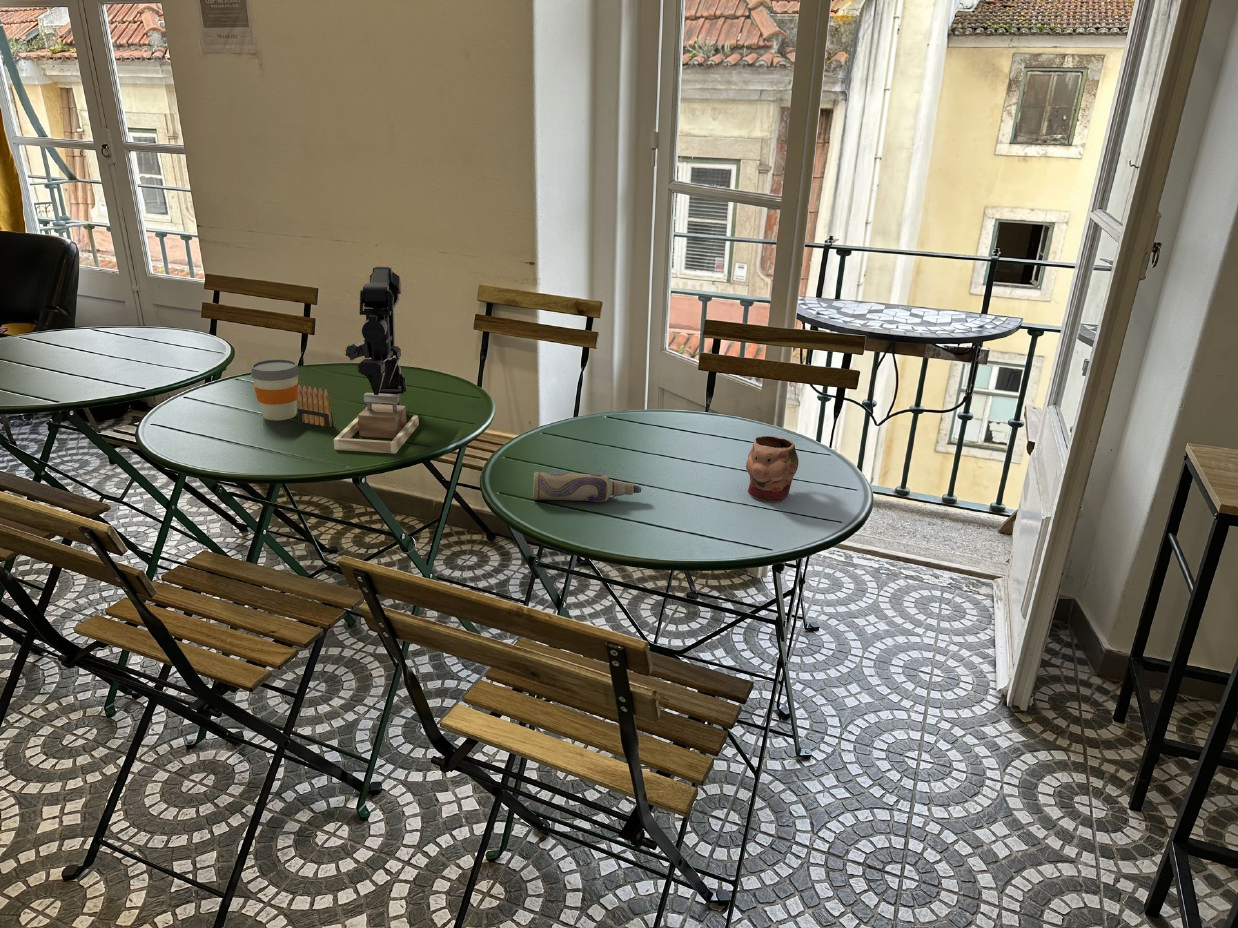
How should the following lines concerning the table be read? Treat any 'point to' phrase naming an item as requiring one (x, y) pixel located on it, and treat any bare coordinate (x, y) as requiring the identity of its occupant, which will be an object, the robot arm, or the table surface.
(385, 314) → the robot arm
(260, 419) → the table surface
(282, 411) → the reusable coffee cup
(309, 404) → the ammunition clip
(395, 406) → the panel with bar handle
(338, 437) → the bay
